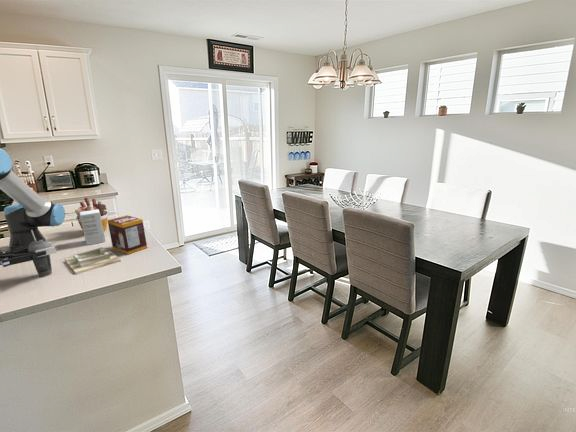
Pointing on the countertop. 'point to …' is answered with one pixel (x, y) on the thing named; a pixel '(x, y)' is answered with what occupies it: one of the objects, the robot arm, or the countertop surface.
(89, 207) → the bucket of meat
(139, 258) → the countertop surface
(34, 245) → the beverage cup
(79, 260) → the cup holder
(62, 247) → the countertop surface
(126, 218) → the supplement box
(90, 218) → the supplement box
